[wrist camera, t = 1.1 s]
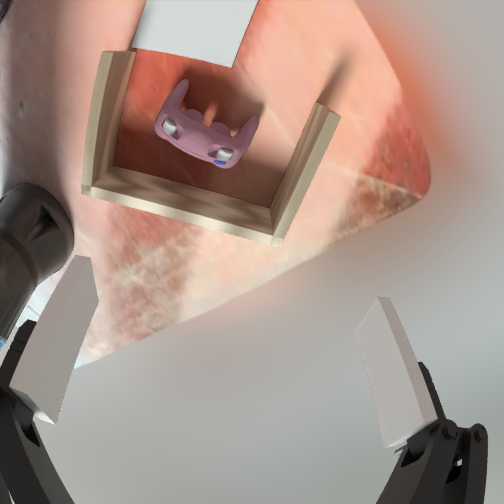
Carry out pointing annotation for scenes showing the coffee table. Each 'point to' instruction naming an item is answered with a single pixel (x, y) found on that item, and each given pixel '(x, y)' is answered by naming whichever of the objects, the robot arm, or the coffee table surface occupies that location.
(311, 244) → the coffee table surface
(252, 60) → the coffee table surface
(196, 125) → the video game controller
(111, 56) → the bay
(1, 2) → the planter
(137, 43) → the pad
